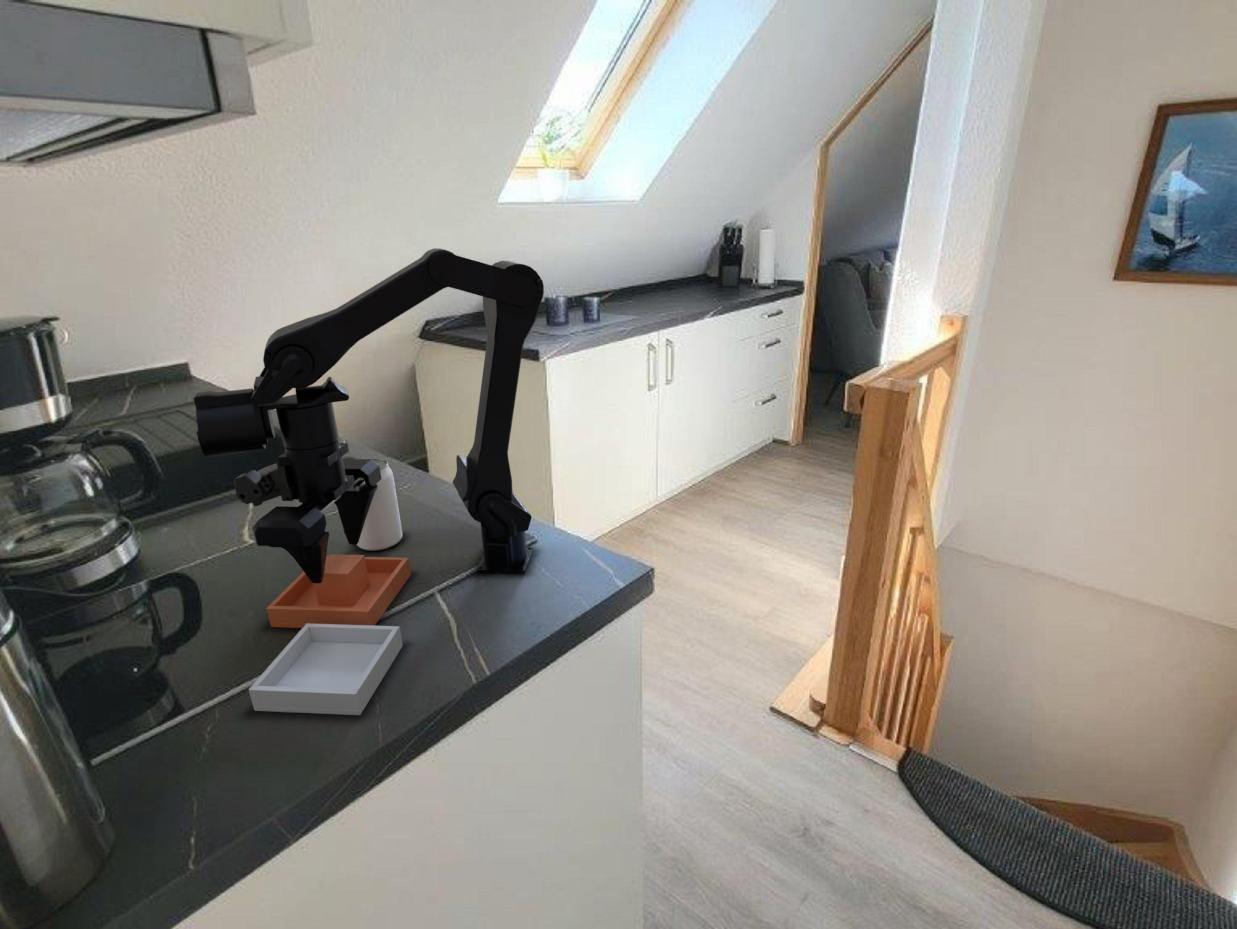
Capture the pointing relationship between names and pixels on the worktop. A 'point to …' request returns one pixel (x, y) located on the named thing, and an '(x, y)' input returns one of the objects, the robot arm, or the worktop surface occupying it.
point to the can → (382, 514)
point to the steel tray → (327, 669)
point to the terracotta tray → (303, 607)
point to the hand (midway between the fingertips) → (336, 562)
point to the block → (342, 580)
